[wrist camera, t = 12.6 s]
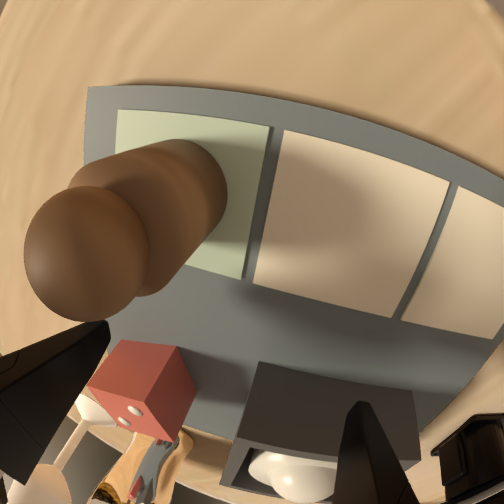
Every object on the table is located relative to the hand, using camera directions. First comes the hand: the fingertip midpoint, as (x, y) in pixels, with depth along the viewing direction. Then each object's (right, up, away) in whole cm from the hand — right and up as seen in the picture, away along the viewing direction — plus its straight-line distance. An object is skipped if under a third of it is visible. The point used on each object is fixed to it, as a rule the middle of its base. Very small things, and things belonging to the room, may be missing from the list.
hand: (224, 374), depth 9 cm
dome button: (+4, -7, +6) cm, 10 cm away
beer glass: (-8, -14, +16) cm, 22 cm away
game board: (+3, -1, +6) cm, 7 cm away
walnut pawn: (-2, +6, +2) cm, 7 cm away
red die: (-5, -3, +7) cm, 9 cm away
